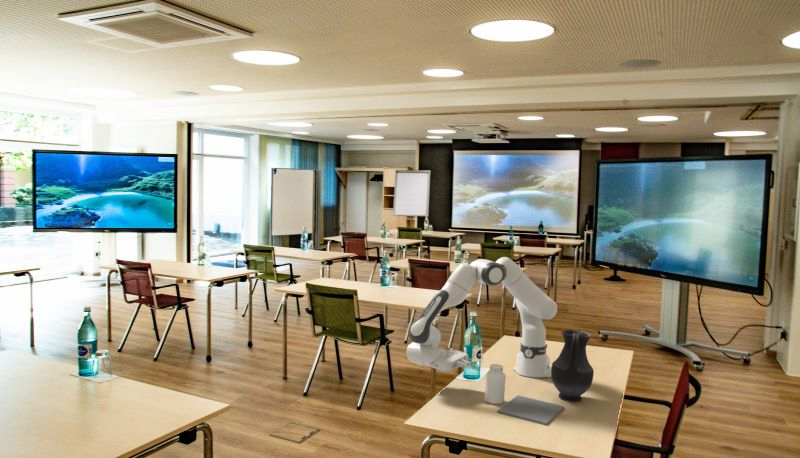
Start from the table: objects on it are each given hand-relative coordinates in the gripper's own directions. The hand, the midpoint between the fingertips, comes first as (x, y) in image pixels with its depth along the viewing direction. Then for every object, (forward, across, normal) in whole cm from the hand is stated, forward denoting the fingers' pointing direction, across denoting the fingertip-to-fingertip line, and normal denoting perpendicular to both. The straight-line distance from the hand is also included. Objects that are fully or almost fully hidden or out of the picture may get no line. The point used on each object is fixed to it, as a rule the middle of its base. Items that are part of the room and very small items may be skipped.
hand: (468, 365), depth 254 cm
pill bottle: (+13, 0, +13) cm, 18 cm away
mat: (+29, 0, +13) cm, 31 cm away
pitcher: (+38, +23, +13) cm, 46 cm away
